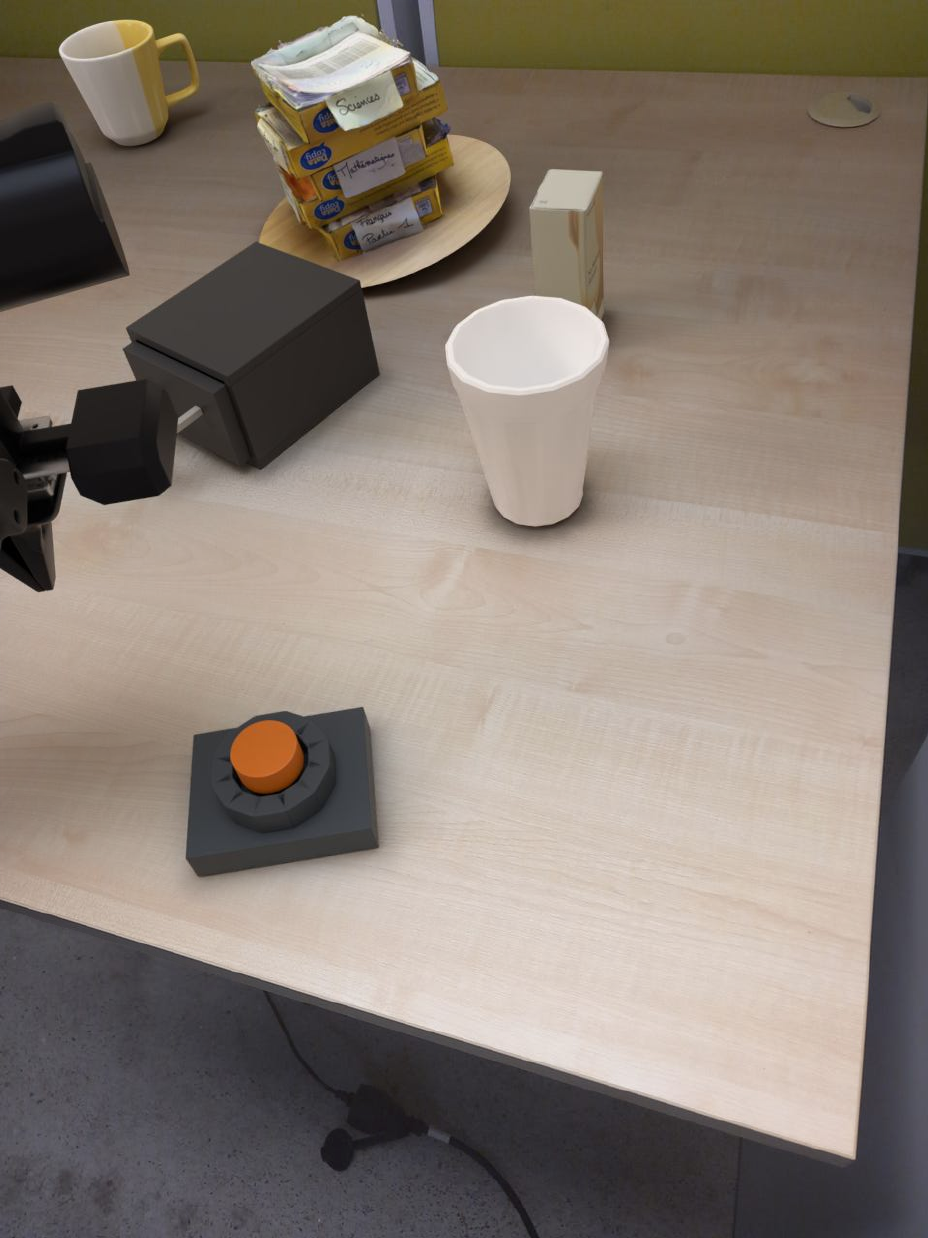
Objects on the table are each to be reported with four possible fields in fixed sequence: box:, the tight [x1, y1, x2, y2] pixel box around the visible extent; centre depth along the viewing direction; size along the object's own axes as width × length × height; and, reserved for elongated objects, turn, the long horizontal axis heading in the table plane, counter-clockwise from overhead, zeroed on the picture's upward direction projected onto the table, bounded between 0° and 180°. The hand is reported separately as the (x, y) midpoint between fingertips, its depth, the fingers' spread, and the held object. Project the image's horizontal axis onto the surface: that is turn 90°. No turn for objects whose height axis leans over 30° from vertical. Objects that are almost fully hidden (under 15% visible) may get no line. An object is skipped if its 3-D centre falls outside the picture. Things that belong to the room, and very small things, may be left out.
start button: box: [230, 720, 304, 794], centre depth 55 cm, size 4×4×2 cm
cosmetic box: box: [529, 168, 605, 321], centre depth 80 cm, size 6×4×12 cm
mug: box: [58, 19, 201, 147], centre depth 114 cm, size 14×10×10 cm
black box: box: [125, 241, 380, 470], centre depth 80 cm, size 14×12×9 cm
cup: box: [444, 295, 610, 527], centre depth 67 cm, size 10×10×13 cm
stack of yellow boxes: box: [250, 13, 512, 289], centre depth 92 cm, size 25×25×17 cm
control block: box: [185, 706, 380, 878], centre depth 57 cm, size 10×8×4 cm
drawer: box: [122, 341, 251, 467], centre depth 78 cm, size 17×10×7 cm, turn 141°
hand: (47, 585), depth 54 cm, fingers closed
